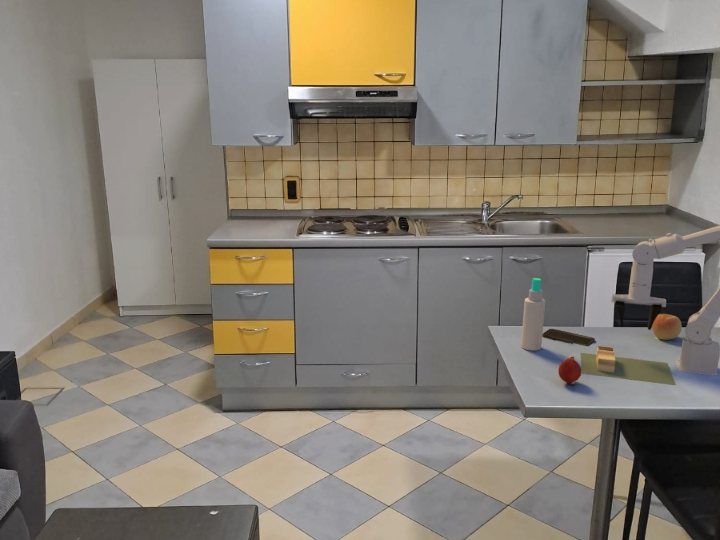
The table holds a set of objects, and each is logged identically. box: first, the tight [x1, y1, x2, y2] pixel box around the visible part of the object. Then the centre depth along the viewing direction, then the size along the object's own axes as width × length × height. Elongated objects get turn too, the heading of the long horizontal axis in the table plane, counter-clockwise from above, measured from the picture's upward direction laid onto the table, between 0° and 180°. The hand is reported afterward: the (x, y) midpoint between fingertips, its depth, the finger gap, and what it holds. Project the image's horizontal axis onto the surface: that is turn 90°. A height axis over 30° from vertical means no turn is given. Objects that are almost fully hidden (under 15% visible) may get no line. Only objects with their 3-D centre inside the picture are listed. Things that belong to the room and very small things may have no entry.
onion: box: [557, 355, 582, 385], centre depth 173 cm, size 6×6×8 cm
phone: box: [542, 328, 596, 347], centre depth 207 cm, size 8×1×15 cm
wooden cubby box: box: [596, 345, 616, 373], centre depth 185 cm, size 10×4×4 cm, turn 162°
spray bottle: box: [520, 277, 546, 352], centre depth 196 cm, size 6×6×22 cm
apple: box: [651, 313, 682, 341], centre depth 207 cm, size 9×9×8 cm
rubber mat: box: [580, 352, 677, 386], centre depth 183 cm, size 24×16×1 cm, turn 73°
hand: (635, 327), depth 190 cm, fingers open, 7 cm apart
